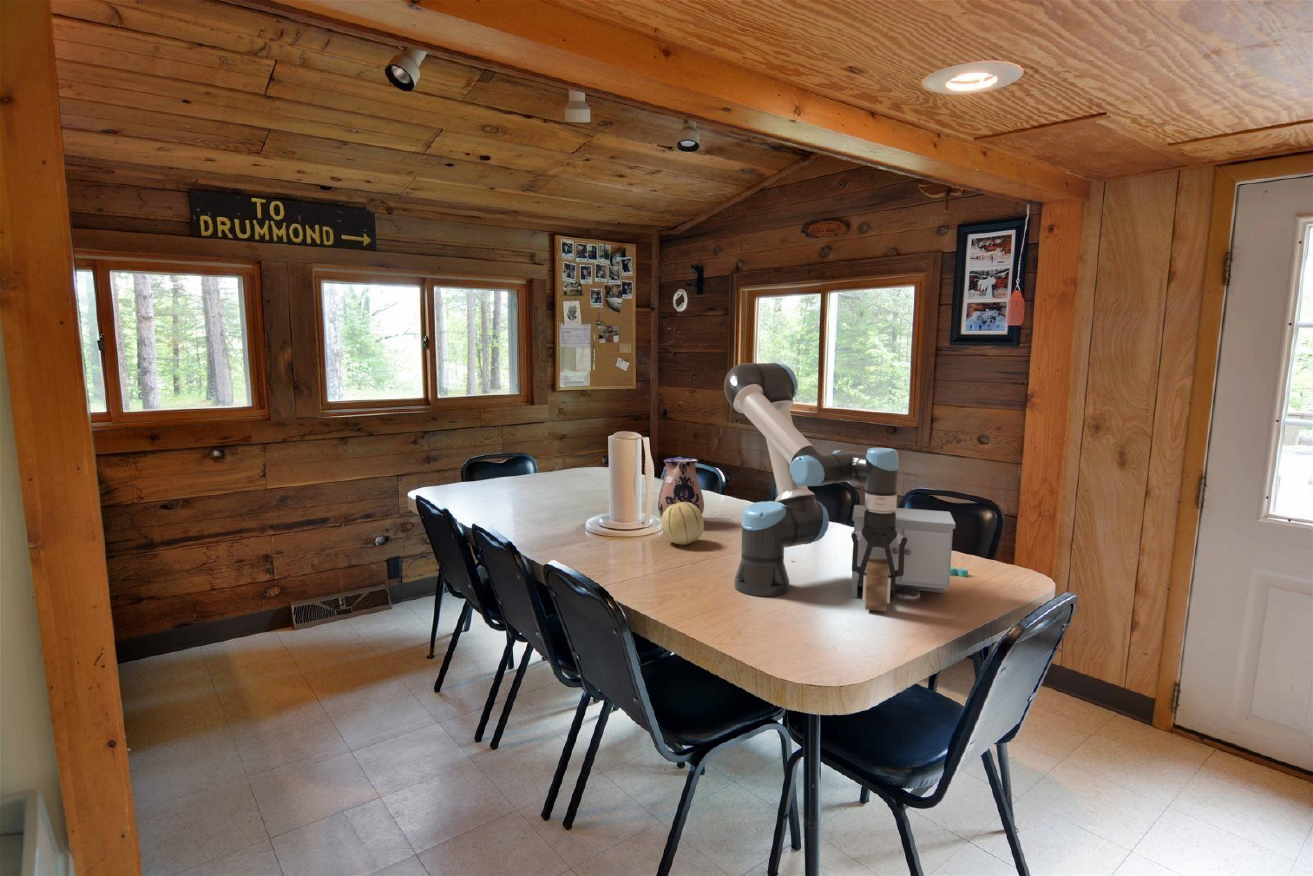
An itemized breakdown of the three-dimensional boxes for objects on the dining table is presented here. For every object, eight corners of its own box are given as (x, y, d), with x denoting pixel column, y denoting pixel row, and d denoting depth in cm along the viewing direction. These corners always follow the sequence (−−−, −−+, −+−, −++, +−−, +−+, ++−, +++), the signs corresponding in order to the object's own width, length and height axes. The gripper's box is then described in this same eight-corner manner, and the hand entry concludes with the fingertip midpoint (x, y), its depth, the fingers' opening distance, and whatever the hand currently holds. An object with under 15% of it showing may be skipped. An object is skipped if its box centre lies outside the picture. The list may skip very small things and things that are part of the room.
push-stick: (865, 609, 172) (867, 562, 170) (866, 583, 191) (868, 541, 190) (886, 611, 170) (888, 564, 169) (885, 585, 190) (887, 543, 188)
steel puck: (892, 601, 181) (892, 593, 181) (891, 592, 188) (892, 585, 188) (920, 604, 179) (921, 596, 179) (919, 595, 186) (919, 588, 186)
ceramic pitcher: (663, 531, 252) (663, 463, 249) (652, 517, 272) (652, 455, 269) (709, 529, 255) (710, 462, 252) (694, 516, 276) (695, 454, 273)
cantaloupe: (701, 550, 226) (702, 506, 224) (658, 548, 228) (658, 504, 227) (705, 539, 241) (706, 497, 239) (664, 537, 243) (664, 495, 241)
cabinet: (848, 599, 182) (852, 517, 179) (851, 580, 197) (854, 504, 194) (950, 610, 174) (956, 525, 171) (944, 590, 189) (949, 511, 187)
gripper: (842, 510, 170) (838, 601, 172) (919, 516, 164) (914, 609, 167) (843, 504, 177) (840, 591, 180) (918, 509, 171) (913, 599, 174)
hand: (875, 600), depth 173 cm, fingers closed on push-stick, 5 cm apart
